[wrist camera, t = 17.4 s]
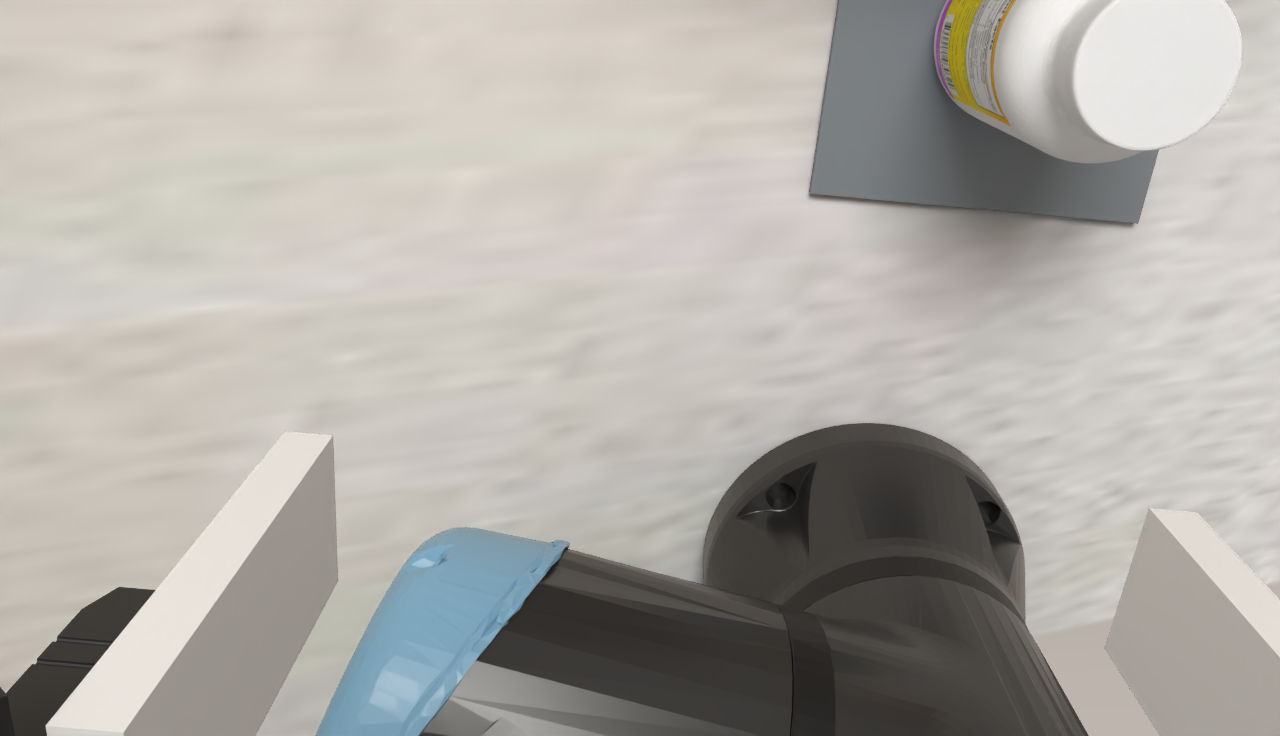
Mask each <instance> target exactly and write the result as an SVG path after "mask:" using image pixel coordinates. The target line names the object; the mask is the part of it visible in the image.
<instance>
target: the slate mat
mask: <svg viewBox="0 0 1280 736" xmlns="http://www.w3.org/2000/svg"><path fill="white" fill-rule="evenodd" d="M946 1H947V0H838V5H837V12H836V18H835V25H834V32H833V38H832V45H831V51H830V58H829V65H828V71H827V78H826V85H825V91H824V98H823V104H822V111H821V118H820V124H819V131H818V137H817V144H816V151H815V157H814V164H813V170H812V177H811V184H810V190H809V192H810V194H819V195H830V196H841V197H852V198H863V199H874V200H885V201H896V202H907V203H918V204H929V205H940V206H951V207H962V208H973V209H984V210H995V211H1006V212H1017V213H1028V214H1039V215H1050V216H1061V217H1072V218H1083V219H1093V220H1104V221H1115V222H1126V223H1137V224H1138V222H1139V219H1140V215H1141V211H1142V208H1143V204H1144V201H1145V197H1146V194H1147V190H1148V186H1149V183H1150V179H1151V176H1152V172H1153V169H1154V165H1155V161H1156V158H1157V154H1158V151H1159V149H1158V150H1152V151H1143V152H1140V153H1138V154H1136V155H1133V156H1130V157H1128V158H1124V159H1121V160H1117V161H1112V162H1106V163H1094V164H1091V163H1077V162H1070V161H1066V160H1062V159H1059V158H1056V157H1053V156H1051V155H1048V154H1046V153H1044V152H1042V151H1041V150H1039V149H1037V148H1035V147H1033V146H1031V145H1029V144H1027V143H1025V142H1023V141H1021V140H1019V139H1017V138H1015V137H1013V136H1011V135H1009V134H1007V133H1005V132H1003V131H1001V130H999V129H997V128H995V127H993V126H991V125H989V124H987V123H985V122H983V121H981V120H979V119H977V118H975V117H973V116H972V115H970V114H968V113H967V112H965V111H964V110H962V109H961V108H960V107H959V106H958V105H957V104H956V103H955V102H954V101H953V100H952V99H951V98H950V96H949V95H948V93H947V92H946V90H945V89H944V87H943V85H942V83H941V81H940V79H939V76H938V73H937V69H936V65H935V58H934V37H935V31H936V26H937V23H938V19H939V16H940V14H941V11H942V9H943V7H944V5H945V3H946Z"/></svg>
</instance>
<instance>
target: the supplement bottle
mask: <svg viewBox="0 0 1280 736" xmlns="http://www.w3.org/2000/svg"><path fill="white" fill-rule="evenodd" d="M934 58H935V65H936V69H937V73H938V76H939V79H940V81H941V83H942V85H943V87H944V89H945V90H946V92H947V93H948V95H949V96H950V98H951V99H952V100H953V101H954V102H955V103H956V104H957V105H958V106H959V107H960V108H961V109H962V110H964V111H965V112H967V113H968V114H970V115H972V116H973V117H975V118H977V119H979V120H981V121H983V122H985V123H987V124H989V125H991V126H993V127H995V128H997V129H999V130H1001V131H1003V132H1005V133H1007V134H1009V135H1011V136H1013V137H1015V138H1017V139H1019V140H1021V141H1023V142H1025V143H1027V144H1029V145H1031V146H1033V147H1035V148H1037V149H1039V150H1041V151H1042V152H1044V153H1046V154H1048V155H1051V156H1053V157H1056V158H1059V159H1062V160H1066V161H1070V162H1077V163H1091V164H1094V163H1106V162H1112V161H1117V160H1121V159H1124V158H1128V157H1130V156H1133V155H1136V154H1138V153H1140V152H1143V151H1152V150H1158V149H1163V148H1166V147H1169V146H1172V145H1175V144H1177V143H1180V142H1182V141H1184V140H1186V139H1188V138H1189V137H1191V136H1192V135H1194V134H1196V133H1197V132H1199V131H1200V130H1201V129H1202V128H1204V127H1205V126H1206V125H1207V124H1208V123H1209V122H1210V121H1211V120H1212V119H1213V118H1214V117H1215V116H1216V115H1217V114H1218V112H1219V111H1220V110H1221V109H1222V107H1223V106H1224V104H1225V103H1226V101H1227V100H1228V98H1229V96H1230V94H1231V92H1232V90H1233V88H1234V86H1235V84H1236V81H1237V78H1238V75H1239V72H1240V67H1241V62H1242V37H1241V32H1240V28H1239V25H1238V22H1237V20H1236V17H1235V15H1234V13H1233V12H1232V10H1231V9H1230V7H1229V6H1228V4H1227V3H1226V2H1225V1H1224V0H947V1H946V3H945V5H944V7H943V9H942V11H941V14H940V16H939V19H938V23H937V26H936V31H935V37H934Z"/></svg>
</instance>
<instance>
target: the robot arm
mask: <svg viewBox="0 0 1280 736" xmlns="http://www.w3.org/2000/svg"><path fill="white" fill-rule="evenodd" d="M569 546H570V543H569V542H565V541H562V540H556V541H554V542H552V543H546V542H541V541H536V540H531V539H526V538H521V537H516V536H512V535H507V534H502V533H497V532H492V531H487V530H482V529H477V528H468V527H463V528H453V529H449V530H446V531H443V532H440V533H438V534H436V535H435V536H433V537H431V538H430V539H428V540H427V541H425V542H424V543H423V544H422V545H421V546H420V547H419V548H418V549H417V550H416V551H415V552H414V553H413V554H412V555H411V556H410V558H409V559H408V560H407V561H406V563H405V564H404V566H403V567H402V568H401V570H400V571H399V573H398V574H397V576H396V577H395V579H394V581H393V582H392V584H391V586H390V587H389V589H388V591H387V593H386V594H385V596H384V598H383V600H382V601H381V603H380V605H379V607H378V608H377V610H376V612H375V614H374V616H373V617H372V619H371V621H370V623H369V625H368V627H367V629H366V631H365V633H364V635H363V637H362V639H361V641H360V643H359V645H358V647H357V648H356V650H355V652H354V654H353V656H352V658H351V660H350V662H349V664H348V666H347V668H346V670H345V673H344V675H343V677H342V679H341V681H340V683H339V685H338V687H337V689H336V691H335V694H334V696H333V698H332V700H331V702H330V704H329V706H328V709H327V711H326V713H325V715H324V718H323V720H322V722H321V724H320V727H319V729H318V731H317V733H316V736H1088V734H1087V732H1086V731H1085V729H1084V727H1083V725H1082V723H1081V722H1080V720H1079V718H1078V716H1077V715H1076V713H1075V711H1074V709H1073V707H1072V706H1071V704H1070V703H1069V700H1068V699H1067V697H1066V695H1065V693H1064V692H1063V690H1062V688H1061V686H1060V684H1059V683H1058V681H1057V679H1056V677H1055V676H1054V674H1053V672H1052V670H1051V669H1050V667H1049V665H1048V663H1047V661H1046V660H1045V658H1044V656H1043V654H1042V653H1041V651H1040V649H1039V647H1038V646H1037V644H1036V642H1035V640H1034V638H1033V637H1032V635H1031V634H1030V632H1029V630H1028V628H1027V626H1026V624H1025V561H1024V553H1023V548H1022V544H1021V540H1020V536H1019V533H1018V530H1017V527H1016V525H1015V522H1014V520H1013V518H1012V516H1011V514H1010V512H1009V510H1008V508H1007V507H1006V505H1005V503H1004V502H1003V500H1002V498H1001V497H1000V495H999V494H998V492H997V490H996V489H995V487H994V486H993V484H992V483H991V481H990V480H989V478H988V477H987V476H986V475H985V473H984V472H983V471H982V470H981V469H980V468H979V467H978V466H977V465H976V464H975V463H974V462H973V461H972V460H971V459H969V458H968V457H967V456H966V455H964V454H963V453H962V452H960V451H959V450H957V449H956V448H954V447H953V446H951V445H949V444H948V443H946V442H944V441H942V440H940V439H938V438H935V437H933V436H931V435H928V434H926V433H923V432H920V431H917V430H913V429H909V428H905V427H900V426H895V425H887V424H873V423H861V424H847V425H840V426H833V427H829V428H824V429H820V430H817V431H813V432H810V433H807V434H804V435H802V436H799V437H797V438H794V439H792V440H790V441H788V442H786V443H784V444H782V445H780V446H778V447H776V448H775V449H773V450H771V451H770V452H768V453H767V454H765V455H764V456H762V457H761V458H760V459H758V460H757V461H756V462H754V463H753V464H752V465H751V466H750V467H748V468H747V469H746V470H745V471H744V472H743V473H742V474H741V475H740V476H739V477H738V478H737V480H736V481H735V482H734V483H733V484H732V485H731V487H730V488H729V489H728V491H727V492H726V494H725V495H724V497H723V498H722V500H721V501H720V503H719V505H718V507H717V508H716V510H715V513H714V515H713V517H712V519H711V522H710V525H709V528H708V531H707V535H706V539H705V545H704V554H703V573H704V585H703V584H699V583H695V582H691V581H687V580H683V579H679V578H675V577H671V576H667V575H663V574H659V573H655V572H651V571H648V570H644V569H640V568H637V567H633V566H629V565H625V564H622V563H618V562H614V561H611V560H607V559H603V558H600V557H596V556H592V555H589V554H585V553H581V552H578V551H574V550H570V549H568V548H569ZM337 582H338V566H337V536H336V507H335V478H334V448H333V435H323V434H311V433H300V432H289V431H285V432H284V433H283V434H282V436H281V437H280V438H279V439H278V441H277V442H276V443H275V444H274V445H273V447H272V448H271V449H270V450H269V452H268V453H267V454H266V455H265V457H264V458H263V459H262V460H261V461H260V463H259V464H258V465H257V466H256V468H255V469H254V470H253V471H252V473H251V474H250V475H249V476H248V477H247V479H246V480H245V481H244V482H243V484H242V485H241V486H240V487H239V488H238V490H237V491H236V492H235V493H234V495H233V496H232V497H231V498H230V500H229V501H228V502H227V503H226V504H225V506H224V507H223V508H222V509H221V511H220V512H219V513H218V514H217V516H216V517H215V518H214V519H213V520H212V522H211V523H210V524H209V525H208V527H207V528H206V529H205V530H204V532H203V533H202V534H201V535H200V536H199V538H198V539H197V540H196V541H195V543H194V544H193V545H192V546H191V547H190V549H189V550H188V551H187V552H186V554H185V555H184V556H183V557H182V559H181V560H180V561H179V562H178V563H177V565H176V566H175V567H174V568H173V570H172V571H171V572H170V573H169V575H168V576H167V577H166V578H165V579H164V581H163V582H162V583H161V584H160V586H159V587H158V588H157V589H156V590H147V589H136V588H124V587H118V588H116V589H115V590H113V591H111V592H110V593H108V594H106V595H105V596H103V597H101V598H100V599H98V600H96V601H95V602H93V603H91V604H90V605H88V606H86V607H85V608H83V609H82V610H81V611H80V612H79V613H78V614H77V615H76V616H75V617H74V619H73V620H72V621H71V622H70V623H69V624H68V625H67V626H66V627H65V629H64V630H63V631H62V632H61V633H60V634H59V635H58V636H57V641H56V642H52V643H51V644H50V645H49V646H48V647H47V648H46V650H45V651H44V652H43V653H42V654H41V655H40V656H39V657H38V658H37V663H36V665H35V664H32V665H31V666H30V667H29V668H28V669H27V671H26V672H25V673H24V674H23V675H22V676H21V677H20V678H19V679H18V681H17V682H16V683H15V684H14V685H13V686H12V687H11V688H10V689H9V691H8V692H7V693H6V694H5V692H4V691H3V690H2V689H1V687H0V736H256V734H257V732H258V730H259V728H260V726H261V724H262V723H263V721H264V719H265V717H266V715H267V713H268V711H269V709H270V707H271V706H272V704H273V702H274V700H275V698H276V696H277V694H278V692H279V691H280V689H281V687H282V685H283V683H284V681H285V679H286V677H287V676H288V674H289V672H290V670H291V668H292V666H293V664H294V662H295V661H296V659H297V657H298V655H299V653H300V651H301V649H302V647H303V646H304V644H305V642H306V640H307V638H308V636H309V634H310V632H311V631H312V629H313V627H314V625H315V623H316V621H317V619H318V617H319V616H320V614H321V612H322V610H323V608H324V606H325V604H326V602H327V600H328V599H329V597H330V595H331V593H332V591H333V589H334V587H335V585H336V584H337ZM1105 650H1106V652H1107V653H1108V655H1109V656H1110V658H1111V659H1112V661H1113V663H1114V664H1115V666H1116V667H1117V669H1118V671H1119V672H1120V674H1121V675H1122V677H1123V678H1124V680H1125V682H1126V683H1127V685H1128V686H1129V688H1130V690H1131V691H1132V693H1133V694H1134V696H1135V697H1136V699H1137V700H1138V702H1139V704H1140V705H1141V707H1142V709H1143V710H1144V712H1145V713H1146V715H1147V716H1148V718H1149V720H1150V721H1151V723H1152V724H1153V726H1154V728H1155V729H1156V731H1157V732H1158V734H1159V735H1160V736H1280V599H1278V597H1277V596H1276V595H1275V594H1274V593H1273V592H1272V591H1271V590H1270V589H1269V588H1268V587H1267V586H1266V585H1265V584H1264V583H1263V582H1262V581H1261V579H1260V578H1259V577H1258V576H1257V575H1256V574H1255V573H1254V572H1253V571H1252V570H1251V569H1250V568H1249V567H1248V566H1247V565H1246V564H1245V563H1244V562H1243V561H1242V560H1241V558H1240V557H1239V556H1238V555H1237V554H1236V553H1235V552H1234V551H1233V550H1232V549H1231V548H1230V547H1229V546H1228V545H1227V544H1226V543H1225V542H1224V541H1223V540H1222V539H1221V537H1220V536H1219V535H1218V534H1217V533H1216V532H1215V531H1214V530H1213V529H1212V528H1211V527H1210V526H1209V525H1208V524H1207V523H1206V522H1205V521H1204V520H1203V519H1202V518H1201V516H1200V515H1199V514H1198V513H1197V512H1188V511H1177V510H1165V509H1154V508H1149V510H1148V513H1147V516H1146V519H1145V523H1144V526H1143V529H1142V532H1141V535H1140V538H1139V541H1138V544H1137V548H1136V551H1135V554H1134V557H1133V560H1132V563H1131V566H1130V569H1129V573H1128V576H1127V579H1126V582H1125V585H1124V588H1123V591H1122V594H1121V598H1120V601H1119V604H1118V607H1117V610H1116V613H1115V616H1114V620H1113V623H1112V626H1111V629H1110V632H1109V635H1108V638H1107V641H1106V645H1105Z"/></svg>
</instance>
